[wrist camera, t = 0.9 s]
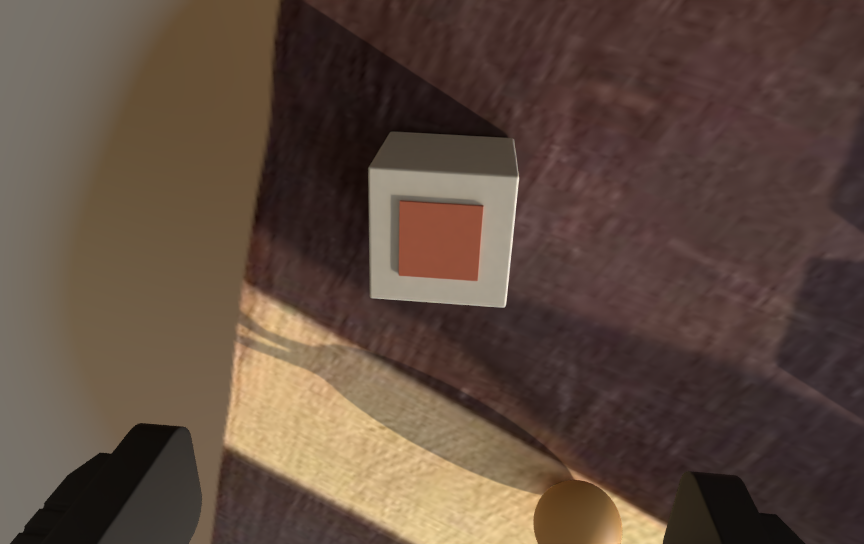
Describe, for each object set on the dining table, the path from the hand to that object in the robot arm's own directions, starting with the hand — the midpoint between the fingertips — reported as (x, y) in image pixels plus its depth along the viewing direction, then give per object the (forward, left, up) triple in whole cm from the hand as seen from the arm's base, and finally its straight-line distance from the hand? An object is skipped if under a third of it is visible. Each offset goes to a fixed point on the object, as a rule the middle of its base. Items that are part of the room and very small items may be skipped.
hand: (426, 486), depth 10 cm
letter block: (0, 0, -15) cm, 15 cm away
